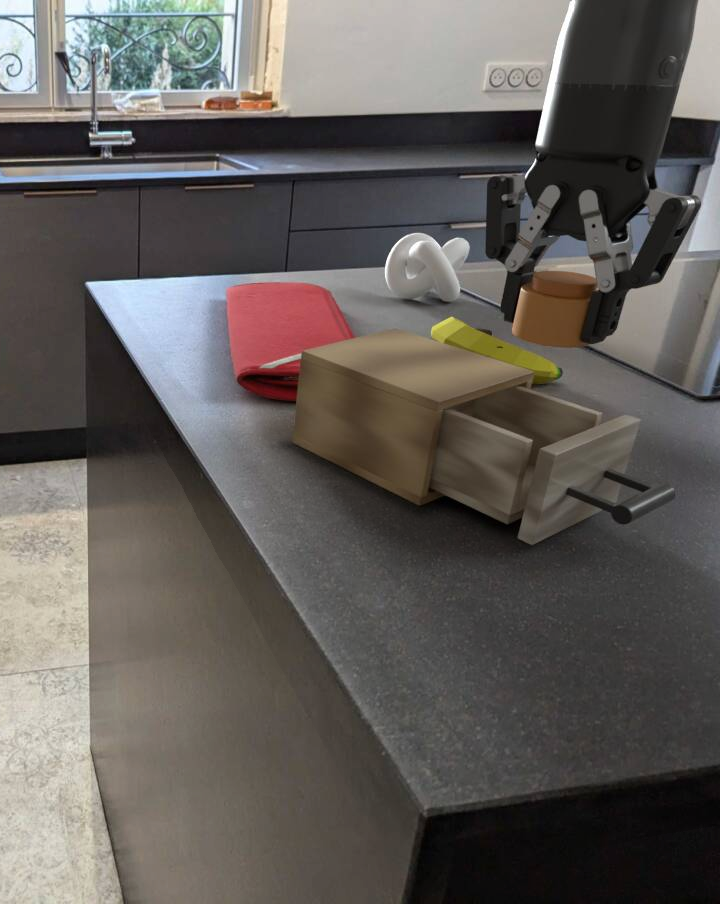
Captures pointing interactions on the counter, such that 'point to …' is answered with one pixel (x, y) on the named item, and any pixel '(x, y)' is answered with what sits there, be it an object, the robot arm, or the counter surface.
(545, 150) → the robot arm
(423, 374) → the cabinet
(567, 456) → the drawer
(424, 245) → the white knot sculpture
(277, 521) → the counter surface
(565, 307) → the orange lidded jar
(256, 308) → the dish drying mat
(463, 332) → the banana
